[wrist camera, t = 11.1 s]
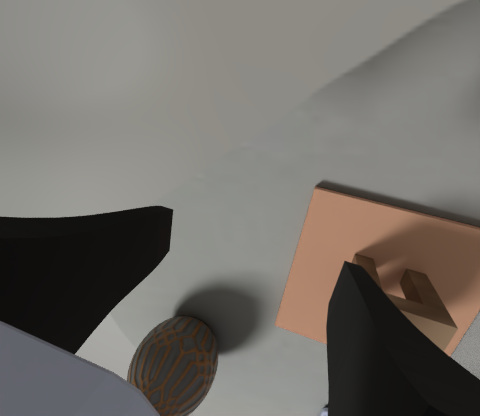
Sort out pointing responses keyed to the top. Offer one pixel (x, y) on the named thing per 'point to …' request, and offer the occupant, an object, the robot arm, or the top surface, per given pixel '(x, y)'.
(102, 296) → the robot arm
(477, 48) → the top surface
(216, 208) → the top surface
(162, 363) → the vase
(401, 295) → the mat
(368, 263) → the notched brown block
